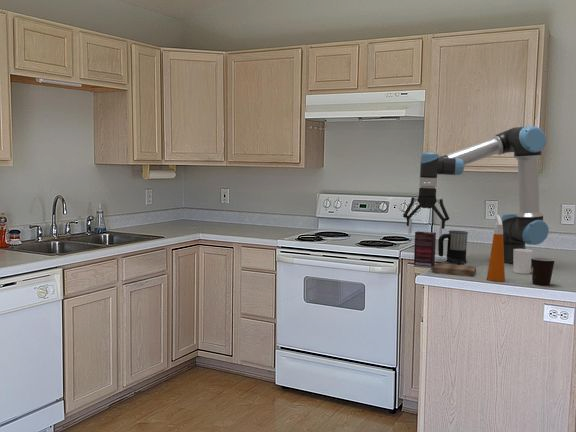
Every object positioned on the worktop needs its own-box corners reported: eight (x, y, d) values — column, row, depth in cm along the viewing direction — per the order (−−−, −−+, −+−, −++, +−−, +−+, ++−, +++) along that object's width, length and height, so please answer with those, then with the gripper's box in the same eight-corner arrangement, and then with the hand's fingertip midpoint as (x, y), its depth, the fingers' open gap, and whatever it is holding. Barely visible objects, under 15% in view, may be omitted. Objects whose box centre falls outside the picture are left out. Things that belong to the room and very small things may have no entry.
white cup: (535, 274, 260) (536, 251, 259) (519, 274, 258) (521, 251, 257) (523, 270, 268) (524, 248, 267) (508, 271, 266) (509, 248, 265)
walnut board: (475, 272, 261) (476, 266, 261) (473, 276, 250) (473, 270, 250) (436, 268, 268) (436, 262, 268) (432, 272, 257) (432, 267, 256)
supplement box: (434, 267, 271) (436, 232, 269) (432, 268, 267) (433, 233, 265) (416, 265, 275) (417, 230, 273) (413, 266, 271) (414, 231, 269)
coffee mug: (548, 287, 233) (550, 261, 232) (526, 283, 238) (527, 258, 237) (558, 283, 241) (560, 258, 240) (536, 279, 247) (538, 255, 246)
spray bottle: (501, 277, 251) (505, 214, 249) (506, 282, 240) (510, 216, 238) (483, 276, 252) (487, 213, 250) (488, 281, 242) (491, 216, 239)
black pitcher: (458, 260, 294) (460, 230, 292) (479, 265, 279) (481, 234, 277) (434, 261, 288) (435, 230, 287) (454, 266, 274) (455, 234, 272)
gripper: (398, 186, 269) (395, 233, 270) (455, 189, 259) (452, 237, 261) (401, 185, 275) (398, 231, 277) (457, 188, 266) (454, 236, 268)
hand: (424, 234), depth 269 cm, fingers open, 13 cm apart
